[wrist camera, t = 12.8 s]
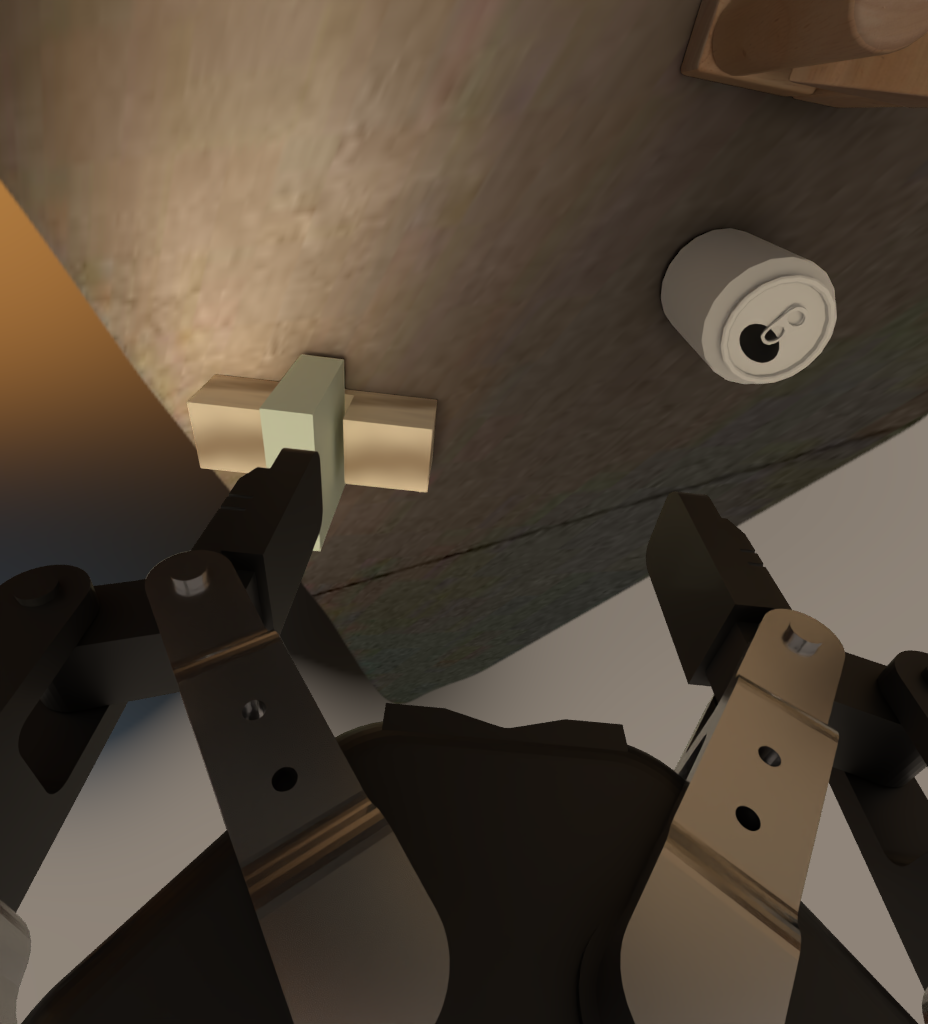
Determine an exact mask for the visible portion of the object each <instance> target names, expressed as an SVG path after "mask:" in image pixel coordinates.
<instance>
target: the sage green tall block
mask: <svg viewBox="0 0 928 1024" xmlns="http://www.w3.org/2000/svg"><path fill="white" fill-rule="evenodd" d="M259 409H260V418H261V426H262V434H263V443H264V451H265V459H266V468H271V466H272V464H273V463H274V461H275V460H276V458H277V456H278V455H279V453H280V451H281V450H282V449H283V448H292V449H301V450H310V451H317V452H318V453H319V456H320V465H321V483H322V501H323V517H322V524H321V529H320V533H319V536H318V538H317V541H316V543H315V546H314V549H313V551H321V548H322V546H323V543H324V540H325V538H326V535H327V532H328V529H329V527H330V524H331V521H332V519H333V516H334V513H335V511H336V508H337V505H338V503H339V500H340V497H341V495H342V492H343V489H344V487H345V477H344V438H343V419H344V416H345V380H344V359H336V358H328V357H319V356H311V355H303V354H301V355H300V356H299V357H298V359H297V360H296V361H295V362H294V364H293V365H292V366H291V368H290V369H289V370H288V372H287V373H286V374H285V376H284V377H283V378H282V379H281V381H280V382H279V383H278V385H277V386H276V387H275V389H274V390H273V391H272V393H271V394H270V395H269V397H268V398H267V399H266V400H265V402H264V403H263V404H262V406H261V407H260V408H259Z"/></svg>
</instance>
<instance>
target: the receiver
mask: <svg viewBox="0 0 928 1024" xmlns="http://www.w3.org/2000/svg"><path fill="white" fill-rule="evenodd" d="M278 383H279V382H278V381H269V380H260V379H251V378H243V377H234V376H225V375H217V374H215V375H214V376H213V377H212V378H211V379H210V380H209V381H208V382H207V383H206V384H205V385H204V386H203V387H202V388H201V389H200V390H199V391H198V392H197V393H196V394H195V395H193V396H192V397H191V398H190V399H189V400H188V401H187V406H188V411H189V415H190V420H191V425H192V429H193V434H194V439H195V443H196V448H197V453H198V457H199V462H200V467H201V468H206V469H214V470H224V471H233V472H242V473H249V472H250V471H252V470H253V469H255V468H256V467H262V468H266V459H265V451H264V443H263V434H262V426H261V418H260V409H259V408H260V407H261V406H262V404H263V403H264V402H265V400H266V399H267V398H268V397H269V395H270V394H271V393H272V391H273V390H274V389H275V387H276V386H277V385H278ZM436 410H437V400H435V399H426V398H417V397H409V396H400V395H391V394H382V393H374V392H365V391H356V390H347V389H345V416H344V419H343V438H344V477H345V484H354V485H363V486H373V487H382V488H391V489H400V490H410V491H419V492H427V491H428V484H429V477H430V471H431V464H432V456H433V444H434V433H435V421H436Z"/></svg>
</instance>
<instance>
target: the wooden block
mask: <svg viewBox="0 0 928 1024" xmlns="http://www.w3.org/2000/svg"><path fill="white" fill-rule="evenodd" d="M681 73H682V74H683V75H685V76H690V77H695V78H700V79H704V80H709V81H714V82H718V83H723V84H728V85H732V86H737V87H742V88H747V89H751V90H756V91H761V92H765V93H770V94H775V95H780V96H784V97H786V96H792V97H793V98H794V99H798V100H803V101H808V102H812V103H817V104H822V105H826V106H831V107H836V108H860V107H903V106H904V107H909V108H928V0H702V2H701V5H700V8H699V12H698V15H697V18H696V21H695V24H694V28H693V31H692V34H691V37H690V40H689V44H688V47H687V50H686V53H685V57H684V60H683V63H682V66H681Z"/></svg>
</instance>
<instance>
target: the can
mask: <svg viewBox="0 0 928 1024" xmlns="http://www.w3.org/2000/svg"><path fill="white" fill-rule="evenodd" d="M661 302H662V306H663V310H664V314H665V315H666V317H667V318H668V320H669V321H670V323H671V324H672V325H673V326H674V328H675V329H676V330H677V331H678V332H679V333H680V334H681V335H682V336H683V338H684V339H685V340H686V341H687V342H688V343H689V344H690V345H691V346H692V348H693V349H694V350H695V351H696V352H697V353H698V354H699V355H700V357H701V358H702V359H703V360H704V361H705V362H706V363H707V364H708V365H709V367H710V368H711V369H712V370H713V371H714V372H715V373H717V374H719V375H720V376H722V377H723V378H725V379H726V380H728V381H732V382H737V383H741V384H752V383H755V384H763V383H774V382H777V381H780V380H783V379H785V378H788V377H791V376H793V375H794V374H796V373H798V372H799V371H801V370H802V369H804V368H805V367H807V366H808V365H809V364H810V363H811V362H812V361H813V360H814V359H815V358H816V357H817V356H818V355H819V354H820V353H821V352H822V351H823V349H824V347H825V346H826V344H827V343H828V341H829V339H830V338H831V336H832V333H833V329H834V326H835V323H836V319H837V315H836V301H835V289H834V287H833V285H832V283H831V281H830V279H829V277H828V275H827V273H826V272H825V271H824V270H822V269H821V268H820V267H818V266H817V265H816V264H815V263H813V262H812V261H810V260H808V259H805V258H803V257H801V256H799V255H796V254H794V253H792V252H790V251H787V250H785V249H783V248H781V247H778V246H776V245H774V244H772V243H770V242H767V241H765V240H763V239H761V238H758V237H756V236H754V235H752V234H749V233H747V232H744V231H740V230H736V229H732V228H727V229H718V230H712V231H710V232H708V233H705V234H703V235H701V236H698V237H696V238H695V239H694V240H692V241H691V242H690V243H689V244H687V245H686V246H685V247H684V248H682V249H681V250H680V251H679V253H678V254H677V255H676V257H675V258H674V259H673V261H672V262H671V263H670V265H669V267H668V269H667V272H666V274H665V277H664V279H663V282H662V291H661Z"/></svg>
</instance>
